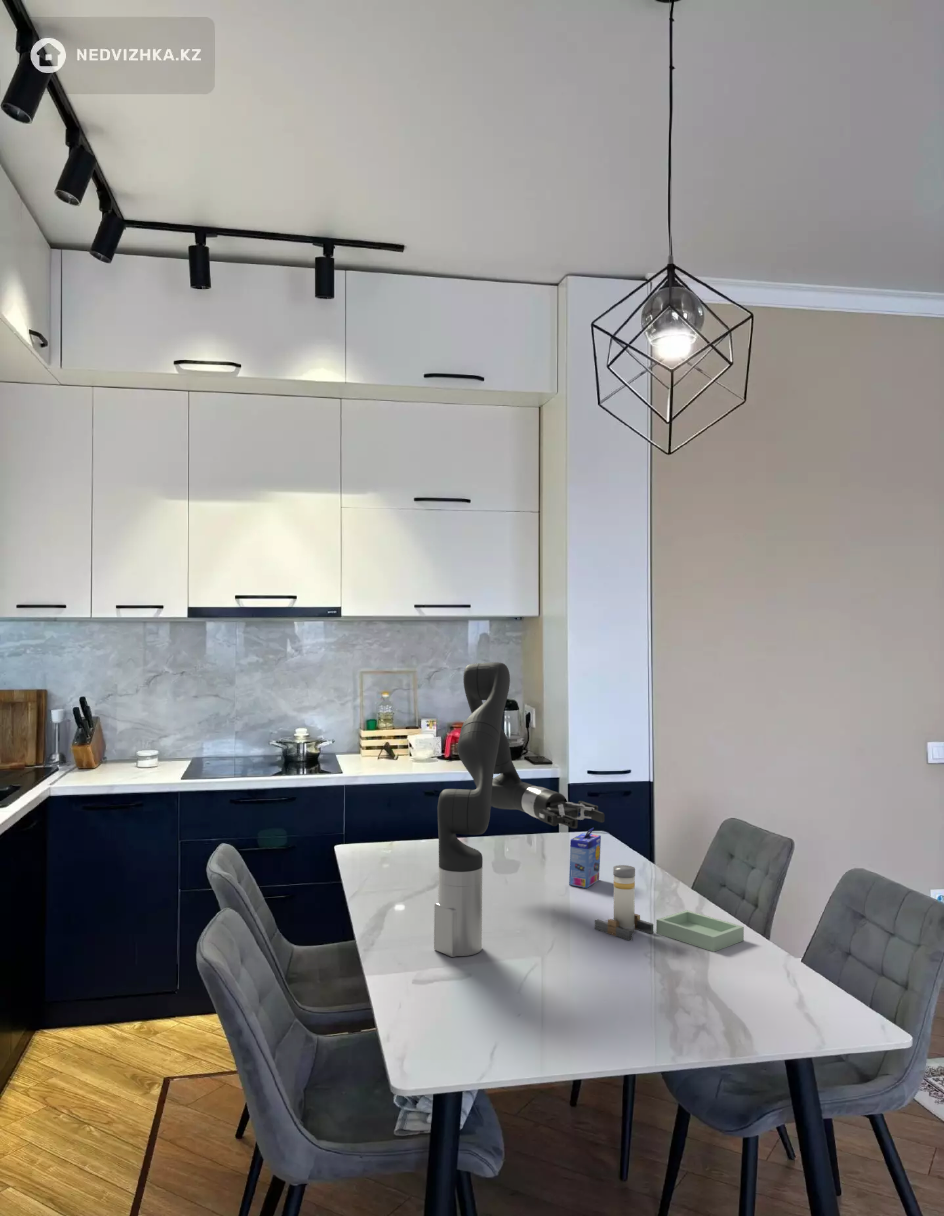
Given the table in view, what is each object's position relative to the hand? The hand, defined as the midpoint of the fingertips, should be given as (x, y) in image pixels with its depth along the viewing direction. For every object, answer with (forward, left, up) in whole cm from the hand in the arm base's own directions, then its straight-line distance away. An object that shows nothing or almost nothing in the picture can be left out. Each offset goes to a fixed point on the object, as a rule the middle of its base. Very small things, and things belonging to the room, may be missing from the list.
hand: (590, 821), depth 211 cm
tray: (+11, -23, -23) cm, 34 cm away
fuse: (+1, -10, -23) cm, 25 cm away
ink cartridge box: (+23, +22, -23) cm, 40 cm away
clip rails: (+1, -10, -23) cm, 25 cm away
